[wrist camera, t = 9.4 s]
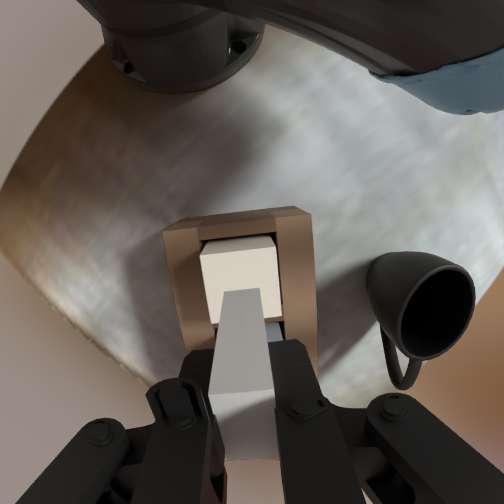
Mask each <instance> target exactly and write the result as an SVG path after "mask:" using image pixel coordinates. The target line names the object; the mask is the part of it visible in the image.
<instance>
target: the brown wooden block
mask: <svg viewBox="0 0 504 504" xmlns="http://www.w3.org/2000/svg"><path fill="white" fill-rule="evenodd" d="M267 232H268V233H269V235H270V237H271V239H272V240H273V242H274V244H275V246H276V255H277V266H278V277H279V288H280V300H281V312H282V316H278V317H270V318H264V322H265V323H268V322H276V321H278V322H279V326H280V330H281V334H282V338H283V340H290V339H297V340H299V341H300V342H301V343H303V344H304V345H305V346H306V349H307V352H308V355H309V358H310V361H311V364H312V366H313V369H314V372H315V375H316V378H317V381H318V348H317V307H316V283H315V264H314V247H313V233H312V220H311V214H309V213H307V212H305V211H303V210H301V209H299V208H297V207H295V206H288V207H278V208H268V209H259V210H250V211H242V212H233V213H225V214H217V215H209V216H201V217H194V218H186V219H181V220H180V221H178V222H177V223H175V224H174V225H172V226H170V227H169V228H167V229H166V230H164V231H163V232H162V235H163V241H164V247H165V253H166V258H167V264H168V269H169V275H170V280H171V285H172V290H173V295H174V300H175V304H176V309H177V314H178V318H179V323H180V327H181V331H182V336H183V340H184V344H185V348H186V352H187V355H188V354H189V353H190V352H191V351H192V350H201V349H215V345H216V339H217V332H218V326H219V323H214V324H211V319H210V314H209V308H208V303H207V297H206V291H205V285H204V279H203V273H202V267H201V261H200V254H201V252H202V251H203V249H204V247H205V245H206V244H207V242H208V240H209V239H216V238H224V237H233V236H241V235H250V234H259V233H267Z"/></svg>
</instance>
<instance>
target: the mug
mask: <svg viewBox="0 0 504 504" xmlns="http://www.w3.org/2000/svg"><path fill="white" fill-rule="evenodd" d="M366 289H367V293H368V295H369V298H370V302H371V305H372V309H373V311H374V314H375V316H376V318H377V320H378V322H379V323H380V331H381V337H382V342H383V348H384V353H385V359H386V364H387V369H388V373H389V377H390V380H391V382H392V384H393V385H394V387H395V388H397V389H399V390H407V389H409V388H410V387H411V386H412V385H413V384H414V382H415V380H416V378H417V376H418V374H419V371H420V368H421V365H422V361H425V360H431V359H433V358H436V357H438V356H440V355H442V354H443V353H445V352H446V351H448V350H449V349H450V348H451V347H452V346H453V345H455V343H456V342H457V341H458V340H459V339H460V338H461V336H462V335H463V333H464V332H465V330H466V328H467V327H468V324H469V322H470V320H471V318H472V314H473V311H474V307H475V299H476V296H475V287H474V283H473V280H472V278H471V276H470V275H469V273H468V272H467V271H466V270H465V269H464V268H463V267H461V266H459V265H457V264H455V263H453V262H450V261H448V260H446V259H443V258H441V257H438V256H436V255H433V254H429V253H423V252H407V251H406V252H391V253H386V254H384V255H382V256H380V257H379V258H378V259H376V260H375V261H374V263H373V264H372V265H371V267H370V268H369V271H368V273H367V277H366ZM395 345H396V347H397V348H398V349H399V350H400V351H401V352H402V353H403V354H404V355H405V356H406V357H408V358H410V359H409V364H408V368H407V371H406V374H405V376H404V377H403V375H402V372H401V369H400V365H399V361H398V357H397V352H396V347H395Z"/></svg>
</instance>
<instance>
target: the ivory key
mask: <svg viewBox="0 0 504 504" xmlns="http://www.w3.org/2000/svg"><path fill="white" fill-rule="evenodd" d="M200 261H201V267H202V273H203V279H204V285H205V291H206V297H207V303H208V308H209V314H210V319H211V324H214V323H219V320H220V313H221V307H222V301H223V295H224V292H225V291H234V290H243V289H252V288H260V294H261V301H262V308H263V315H264V318H270V317H278V316H282V312H281V300H280V288H279V277H278V266H277V255H276V246H275V244H274V242H273V240H272V239H271V237H270V235H269V233H268V232H267V233H259V234H250V235H241V236H233V237H224V238H216V239H209V240H208V242H207V244H206V245H205V247H204V249H203V251H202V252H201V254H200Z"/></svg>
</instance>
